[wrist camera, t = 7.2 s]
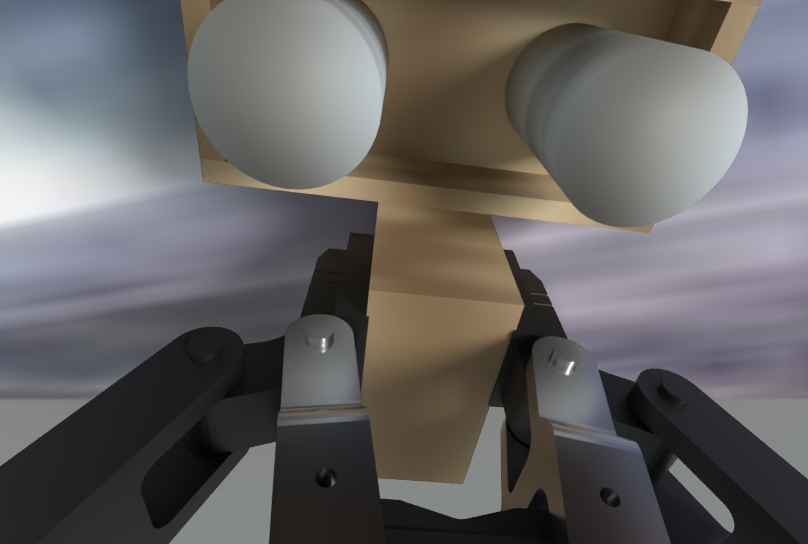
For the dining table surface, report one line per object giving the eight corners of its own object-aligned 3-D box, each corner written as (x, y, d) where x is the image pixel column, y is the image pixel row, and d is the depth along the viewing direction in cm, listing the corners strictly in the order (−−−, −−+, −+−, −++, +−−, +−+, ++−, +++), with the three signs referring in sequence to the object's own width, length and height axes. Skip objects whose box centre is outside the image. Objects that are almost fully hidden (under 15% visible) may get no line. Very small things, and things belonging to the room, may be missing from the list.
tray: (693, -26, 12) (997, -34, 6) (552, 328, 18) (624, 495, 12) (220, -102, 11) (-3, -206, 5) (250, 298, 17) (172, 463, 11)
